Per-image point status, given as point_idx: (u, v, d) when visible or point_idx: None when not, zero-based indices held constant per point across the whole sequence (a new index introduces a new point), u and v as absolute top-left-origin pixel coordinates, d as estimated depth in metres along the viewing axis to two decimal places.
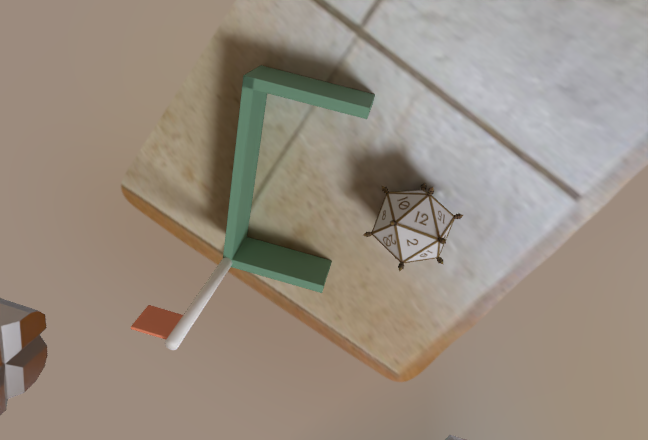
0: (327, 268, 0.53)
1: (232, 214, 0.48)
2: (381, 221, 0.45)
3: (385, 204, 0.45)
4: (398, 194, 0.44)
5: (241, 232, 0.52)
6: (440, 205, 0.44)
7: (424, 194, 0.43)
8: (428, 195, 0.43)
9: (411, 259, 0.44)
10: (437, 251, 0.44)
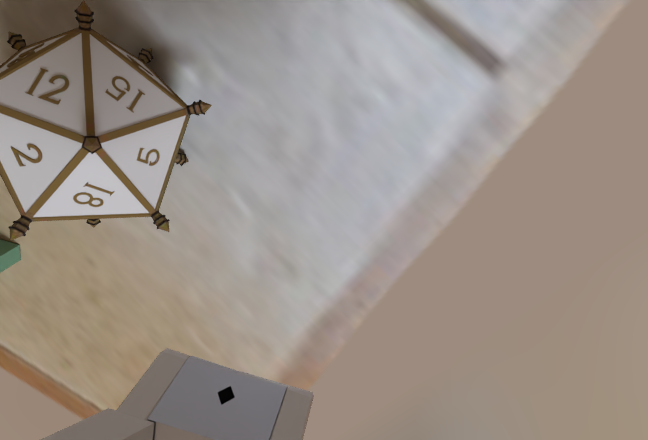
0: None
1: None
2: None
3: None
4: (35, 45, 0.17)
5: None
6: (131, 67, 0.17)
7: None
8: (80, 29, 0.16)
9: (51, 210, 0.16)
10: (130, 191, 0.17)
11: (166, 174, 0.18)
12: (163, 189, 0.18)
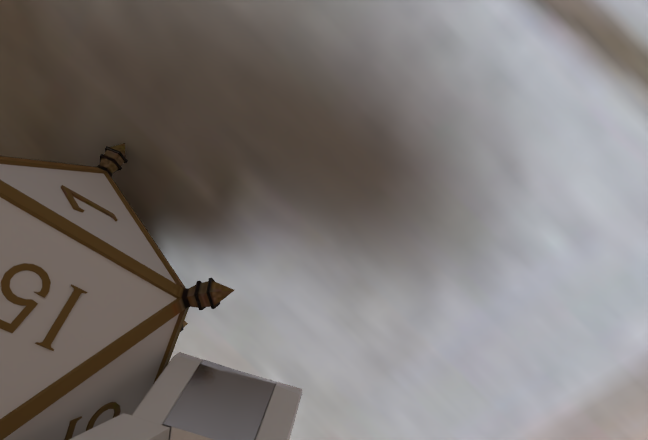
0: None
1: None
2: None
3: None
4: None
5: None
6: (59, 232, 0.07)
7: None
8: None
9: None
10: None
11: None
12: None
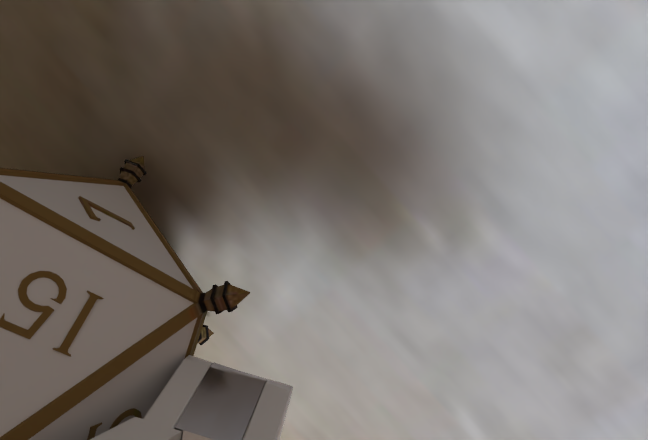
0: None
1: None
2: None
3: None
4: None
5: None
6: (74, 239, 0.07)
7: None
8: None
9: None
10: None
11: None
12: None
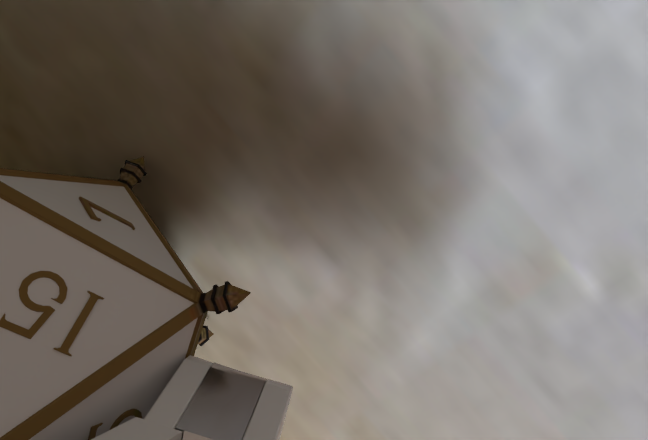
0: None
1: None
2: None
3: None
4: None
5: None
6: (75, 239, 0.07)
7: None
8: None
9: None
10: None
11: None
12: None
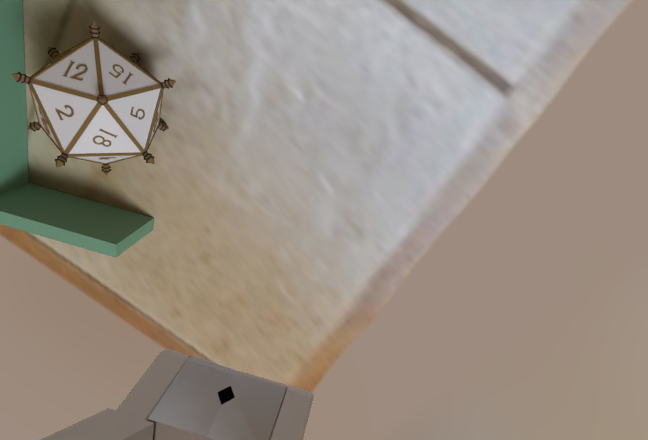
0: (139, 225, 0.34)
1: None
2: None
3: None
4: (65, 52, 0.28)
5: (0, 165, 0.33)
6: (124, 59, 0.27)
7: (89, 39, 0.26)
8: (92, 37, 0.26)
9: (79, 148, 0.26)
10: (127, 135, 0.27)
11: (150, 127, 0.28)
12: (149, 136, 0.28)
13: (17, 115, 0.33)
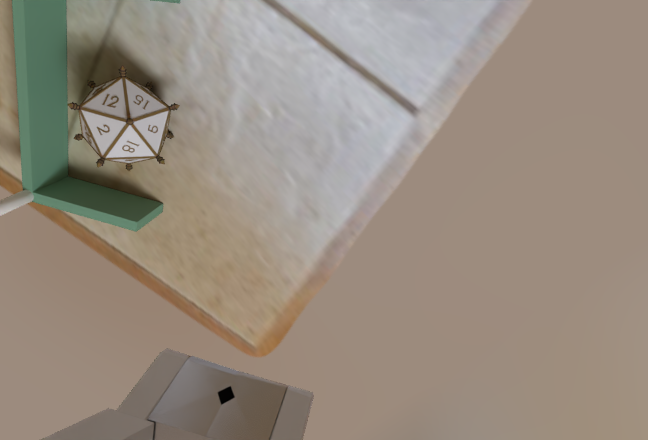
0: (153, 208, 0.46)
1: (24, 132, 0.41)
2: None
3: None
4: (101, 85, 0.39)
5: (50, 163, 0.45)
6: (143, 91, 0.38)
7: (119, 77, 0.38)
8: (121, 77, 0.38)
9: (113, 154, 0.38)
10: (145, 144, 0.38)
11: (161, 138, 0.40)
12: (160, 145, 0.40)
13: (61, 126, 0.45)
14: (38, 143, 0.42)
